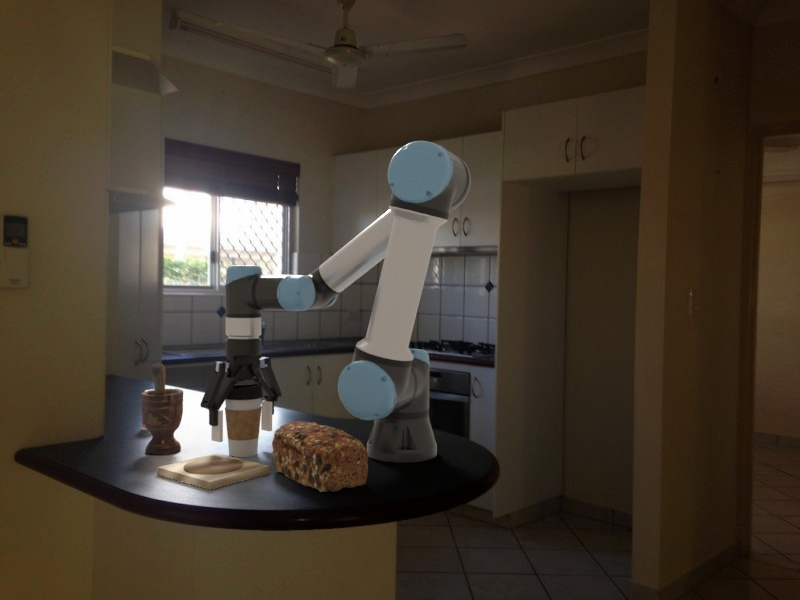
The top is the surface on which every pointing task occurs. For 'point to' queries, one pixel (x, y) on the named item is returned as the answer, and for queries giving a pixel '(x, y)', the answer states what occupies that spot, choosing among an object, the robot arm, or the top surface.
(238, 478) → the board
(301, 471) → the bread
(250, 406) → the coffee cup
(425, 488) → the top surface
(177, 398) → the mortar and pestle
